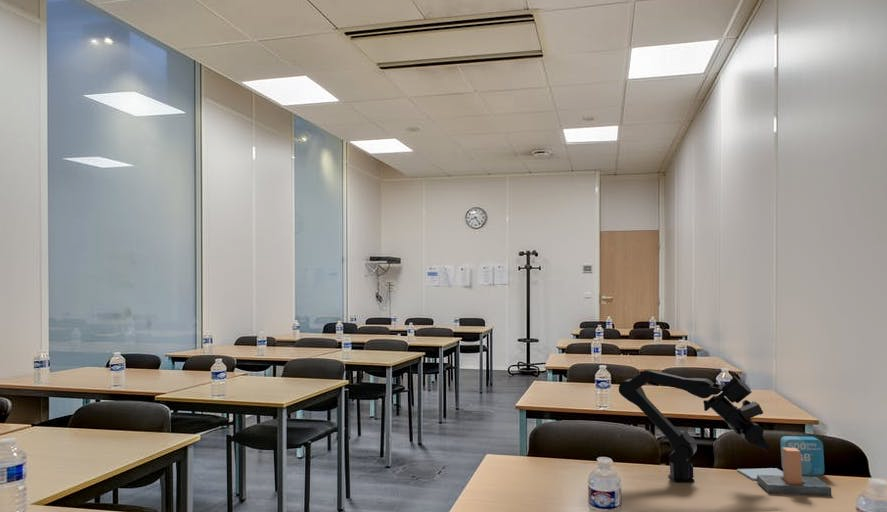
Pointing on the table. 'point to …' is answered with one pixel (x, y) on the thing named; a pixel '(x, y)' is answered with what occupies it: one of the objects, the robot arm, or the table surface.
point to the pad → (760, 472)
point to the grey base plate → (793, 485)
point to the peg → (792, 465)
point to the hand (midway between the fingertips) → (765, 446)
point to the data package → (806, 453)
